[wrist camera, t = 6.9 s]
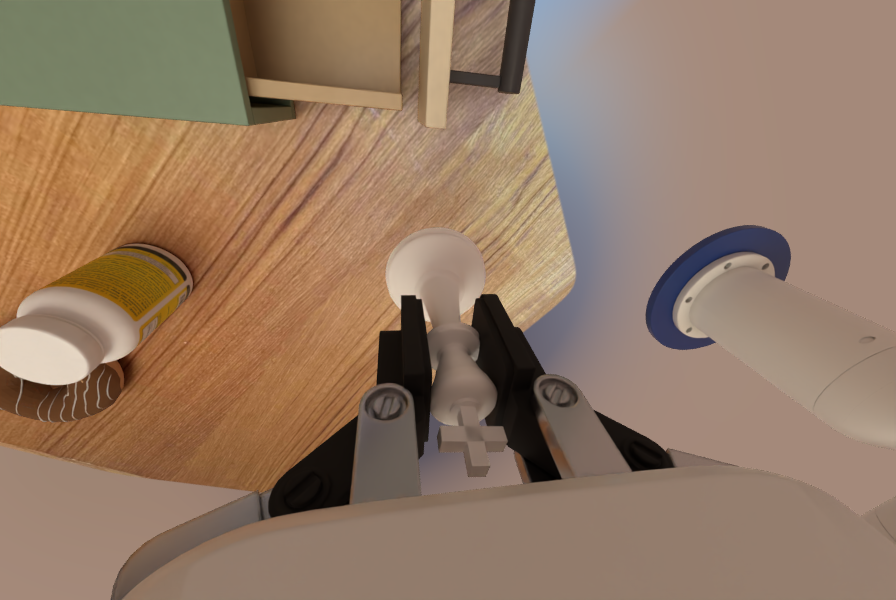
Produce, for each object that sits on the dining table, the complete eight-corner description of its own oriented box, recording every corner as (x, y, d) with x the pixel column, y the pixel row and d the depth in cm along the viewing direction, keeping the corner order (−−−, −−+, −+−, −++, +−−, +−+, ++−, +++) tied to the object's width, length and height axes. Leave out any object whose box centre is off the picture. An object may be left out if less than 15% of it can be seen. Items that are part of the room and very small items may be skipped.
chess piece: (471, 319, 17) (540, 519, 9) (381, 311, 16) (363, 529, 8) (495, 234, 15) (618, 401, 7) (391, 219, 14) (379, 394, 6)
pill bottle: (99, 238, 26) (-66, 313, 17) (184, 243, 27) (76, 316, 18) (127, 302, 29) (3, 395, 20) (203, 304, 30) (119, 393, 21)
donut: (-31, 356, 30) (-86, 389, 26) (36, 298, 28) (-13, 325, 24) (94, 412, 35) (62, 445, 32) (157, 367, 33) (131, 397, 30)
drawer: (521, -60, 20) (578, -134, 14) (494, 128, 25) (526, 136, 19) (212, -122, 17) (106, -252, 11) (256, 106, 22) (203, 107, 16)
